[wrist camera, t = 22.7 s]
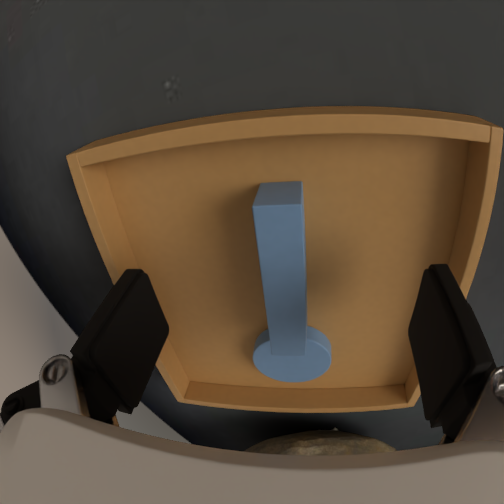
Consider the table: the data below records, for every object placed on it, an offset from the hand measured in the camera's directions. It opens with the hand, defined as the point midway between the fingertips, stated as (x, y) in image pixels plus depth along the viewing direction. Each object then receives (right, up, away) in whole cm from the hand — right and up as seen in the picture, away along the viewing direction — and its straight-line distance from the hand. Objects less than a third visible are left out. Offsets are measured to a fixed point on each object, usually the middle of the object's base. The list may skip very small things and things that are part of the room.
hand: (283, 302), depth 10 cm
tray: (+1, 0, +4) cm, 4 cm away
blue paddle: (+1, 0, +4) cm, 4 cm away
